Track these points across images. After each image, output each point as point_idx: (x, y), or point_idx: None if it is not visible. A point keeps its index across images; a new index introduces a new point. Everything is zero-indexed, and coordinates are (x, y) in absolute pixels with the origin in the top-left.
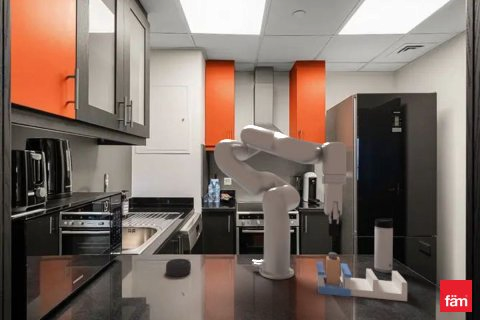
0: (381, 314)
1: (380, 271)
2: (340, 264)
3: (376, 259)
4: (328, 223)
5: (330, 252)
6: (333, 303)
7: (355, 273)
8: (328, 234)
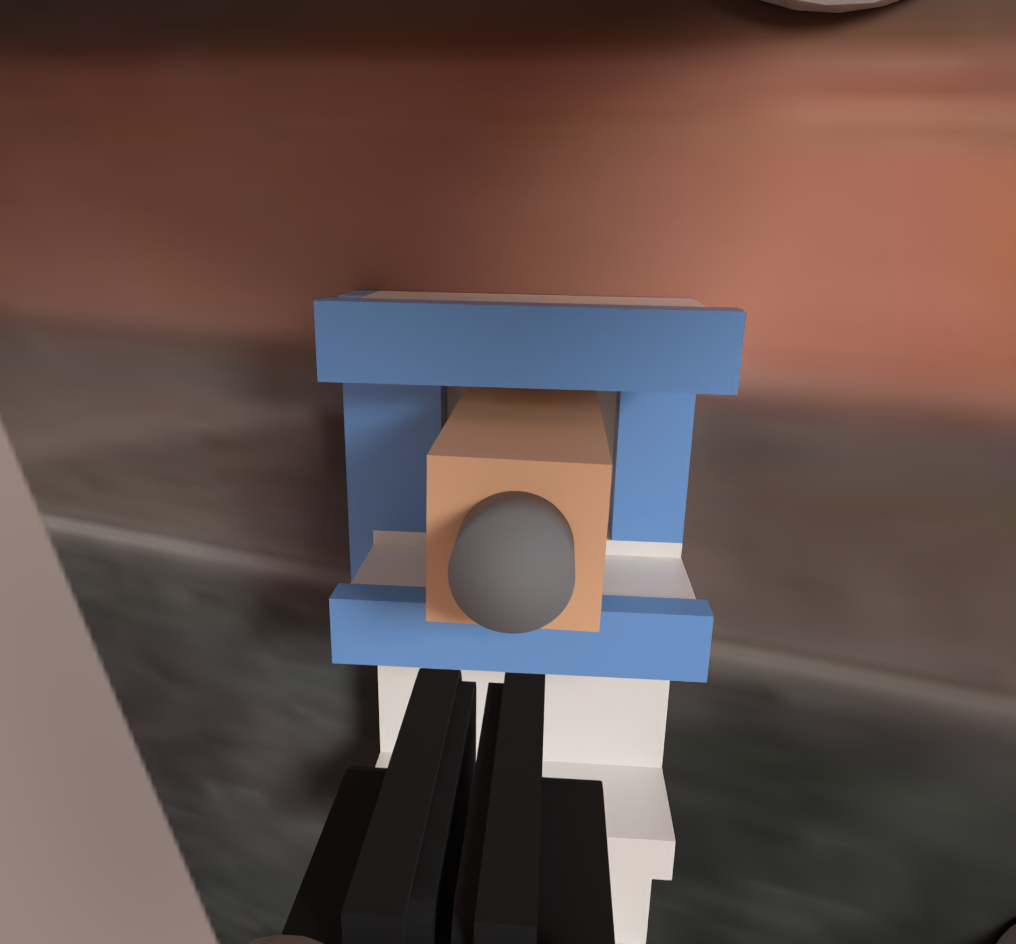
0: (130, 702)
1: (1009, 931)
2: (707, 609)
3: None
4: (482, 909)
5: (554, 546)
6: (188, 401)
7: (954, 710)
8: (438, 673)
